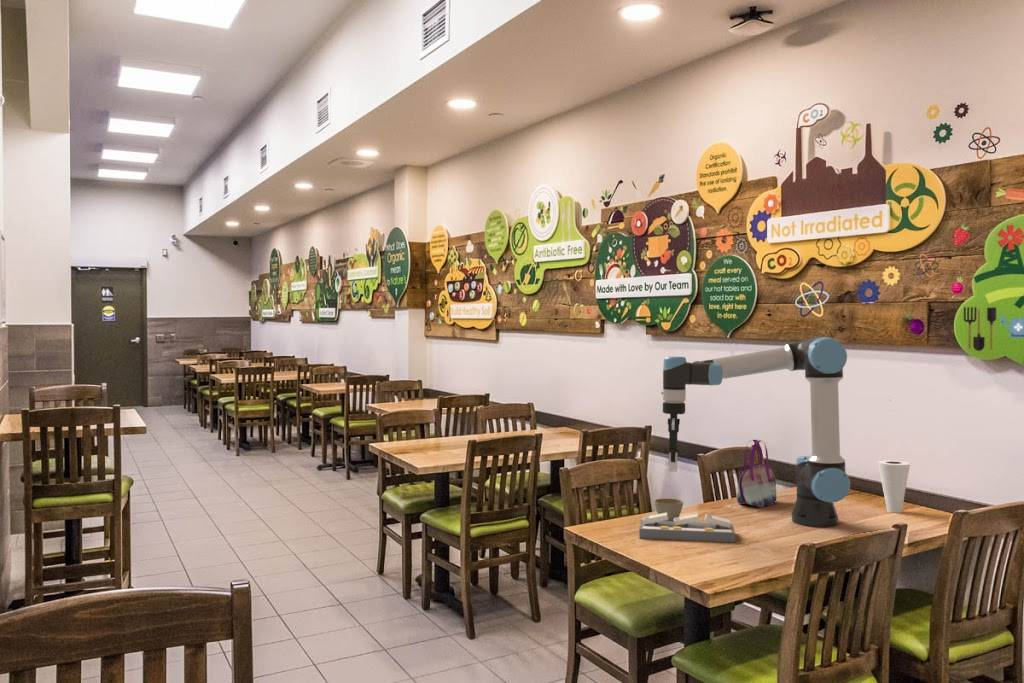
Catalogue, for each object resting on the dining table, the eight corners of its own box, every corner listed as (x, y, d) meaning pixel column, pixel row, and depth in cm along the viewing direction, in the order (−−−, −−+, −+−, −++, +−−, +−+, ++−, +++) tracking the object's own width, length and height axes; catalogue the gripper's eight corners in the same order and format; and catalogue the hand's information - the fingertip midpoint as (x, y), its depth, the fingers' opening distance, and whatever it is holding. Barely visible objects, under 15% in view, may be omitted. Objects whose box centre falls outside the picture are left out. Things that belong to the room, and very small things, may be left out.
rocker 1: (668, 517, 251) (666, 512, 251) (667, 520, 247) (666, 514, 247) (644, 521, 252) (643, 516, 252) (644, 524, 248) (642, 519, 249)
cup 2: (916, 511, 274) (915, 463, 274) (901, 516, 268) (900, 466, 268) (888, 506, 283) (887, 459, 283) (872, 510, 277) (871, 462, 277)
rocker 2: (698, 518, 248) (697, 513, 249) (699, 521, 245) (697, 515, 245) (674, 522, 250) (673, 517, 250) (674, 525, 246) (673, 520, 246)
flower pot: (683, 525, 260) (683, 504, 260) (654, 524, 262) (654, 503, 262) (682, 518, 270) (682, 498, 270) (654, 517, 272) (654, 497, 272)
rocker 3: (729, 524, 246) (730, 519, 246) (729, 527, 242) (730, 522, 242) (704, 518, 248) (705, 513, 248) (704, 521, 244) (706, 516, 244)
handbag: (750, 510, 281) (749, 443, 281) (728, 505, 289) (727, 441, 289) (784, 502, 293) (783, 438, 293) (763, 498, 301) (762, 436, 301)
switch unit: (732, 532, 249) (732, 521, 249) (735, 542, 237) (734, 530, 237) (641, 529, 256) (641, 518, 256) (639, 538, 244) (639, 526, 244)
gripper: (663, 400, 261) (662, 467, 261) (661, 403, 248) (660, 473, 248) (685, 400, 259) (684, 468, 259) (684, 403, 246) (683, 475, 247)
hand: (672, 471), depth 254 cm, fingers closed
